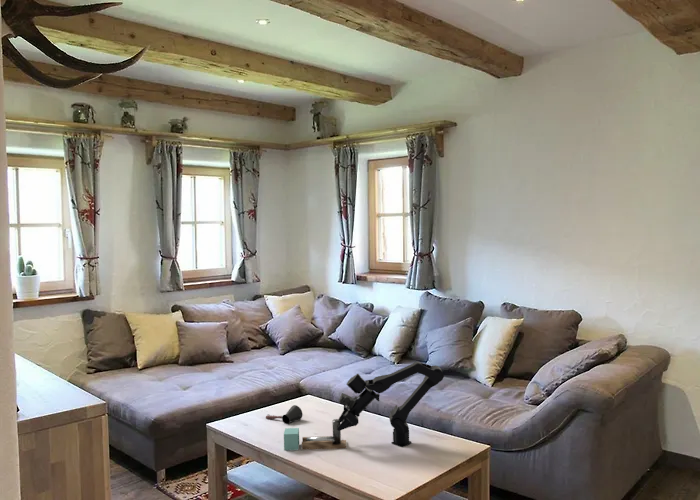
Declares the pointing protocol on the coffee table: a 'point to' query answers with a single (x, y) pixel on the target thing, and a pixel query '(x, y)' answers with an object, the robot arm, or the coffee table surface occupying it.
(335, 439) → the slip rod
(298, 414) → the black handbell
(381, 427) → the coffee table surface
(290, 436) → the socket block
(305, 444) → the guide
